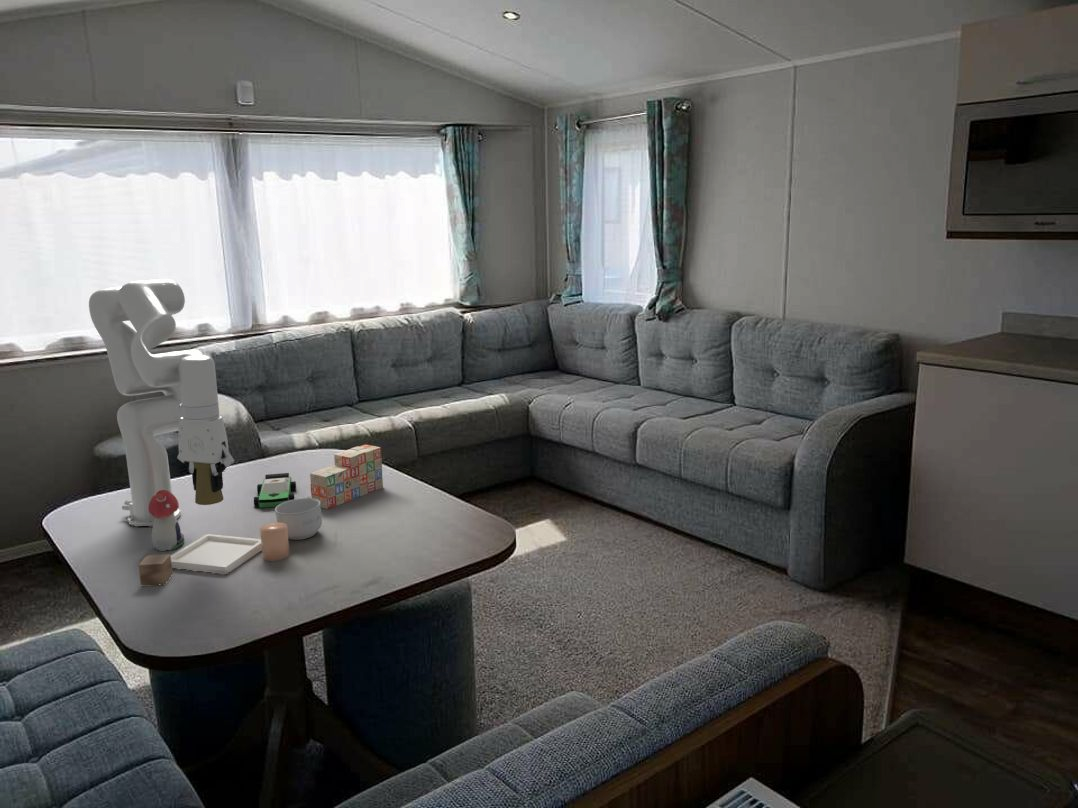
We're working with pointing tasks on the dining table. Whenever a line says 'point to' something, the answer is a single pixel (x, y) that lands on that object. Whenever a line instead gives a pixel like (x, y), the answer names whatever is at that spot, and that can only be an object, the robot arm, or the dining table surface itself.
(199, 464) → the cork
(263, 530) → the peach rounded cylinder
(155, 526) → the decorative ornament
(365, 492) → the stack of blocks
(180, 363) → the robot arm
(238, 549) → the tray
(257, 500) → the toy car
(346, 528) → the dining table surface
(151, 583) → the walnut block
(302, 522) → the teacup
